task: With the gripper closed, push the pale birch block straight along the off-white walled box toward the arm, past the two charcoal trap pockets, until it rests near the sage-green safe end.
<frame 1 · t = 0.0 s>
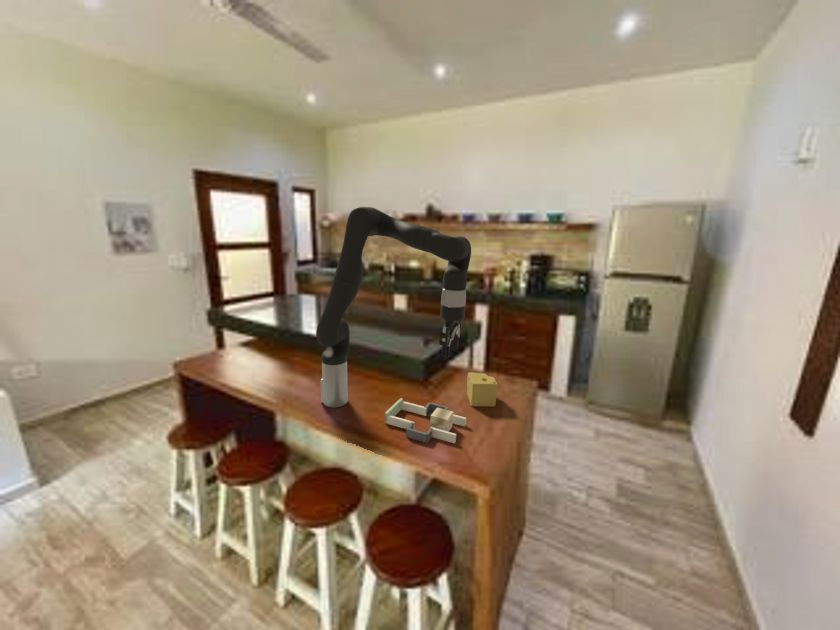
hand: (450, 352, 117), 29 cm above the worktop, tool pointing down, fingers open, 8 cm apart
trap box: (425, 424, 129), on the worktop
birch block: (441, 428, 127), resting in trap box
cheese: (480, 401, 147), on the worktop
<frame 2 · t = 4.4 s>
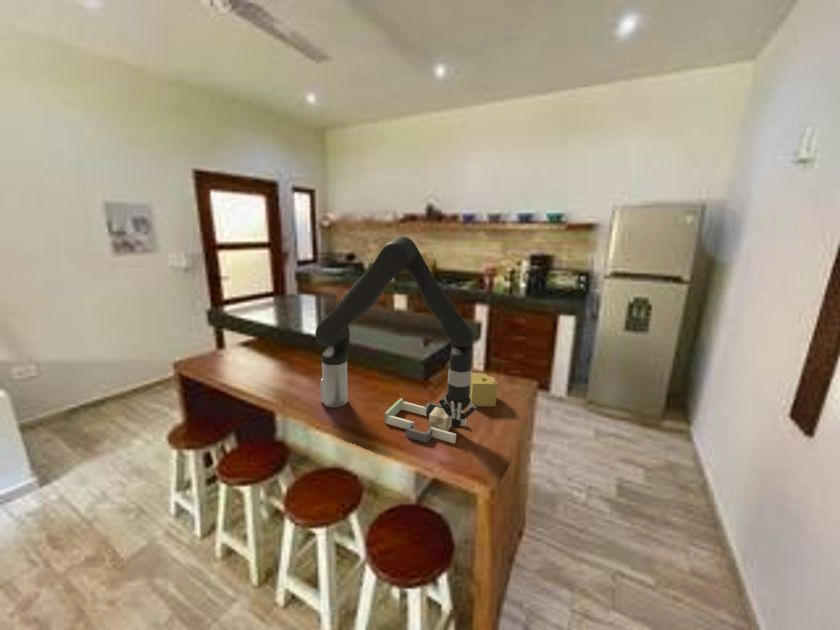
hand: (456, 427, 125), 2 cm above the worktop, tool pointing down, fingers closed
birch block: (439, 428, 127), resting in trap box, touching gripper
everything else where it was.
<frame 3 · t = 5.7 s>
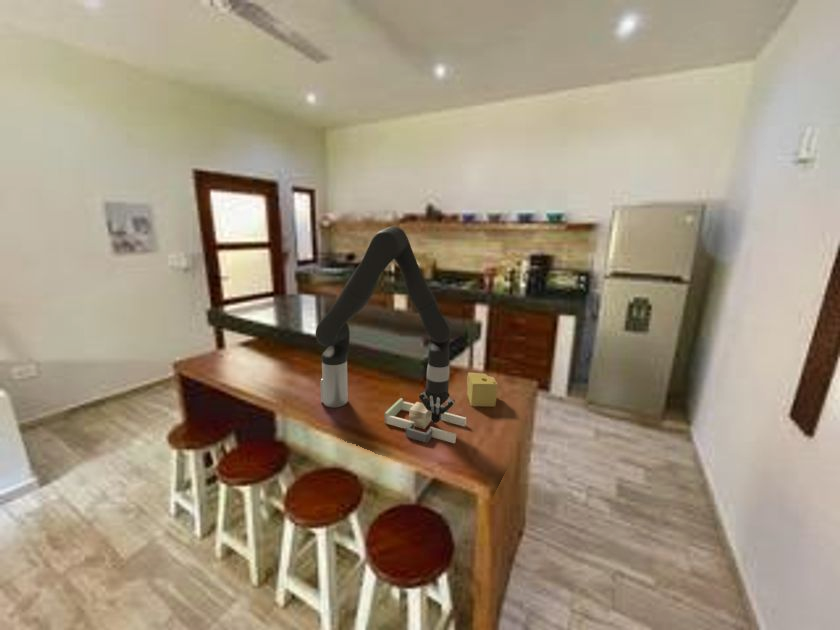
hand: (435, 421, 127), 2 cm above the worktop, tool pointing down, fingers closed
birch block: (420, 422, 130), resting in trap box, touching gripper
everything else where it was.
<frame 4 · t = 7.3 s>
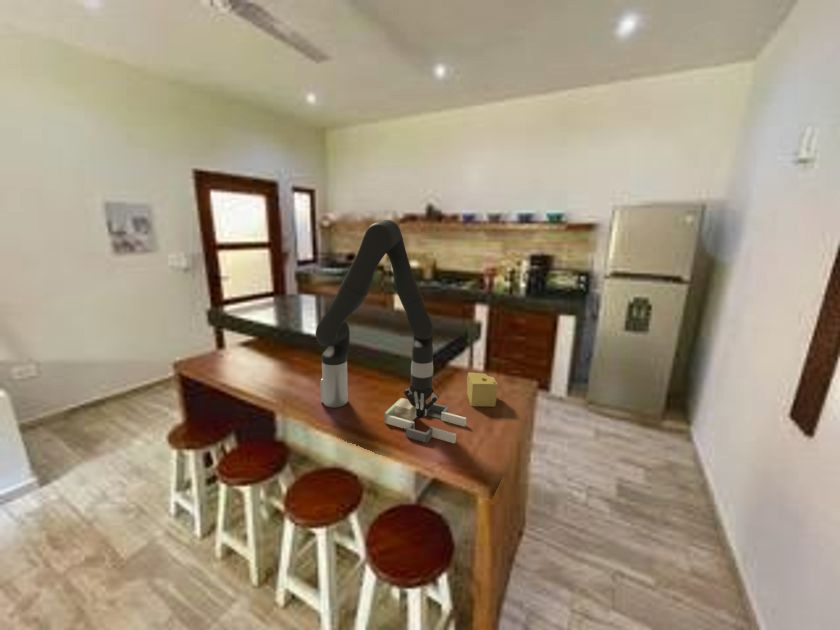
hand: (420, 417, 130), 2 cm above the worktop, tool pointing down, fingers closed
birch block: (405, 418, 132), resting in trap box, touching gripper
everything else where it was.
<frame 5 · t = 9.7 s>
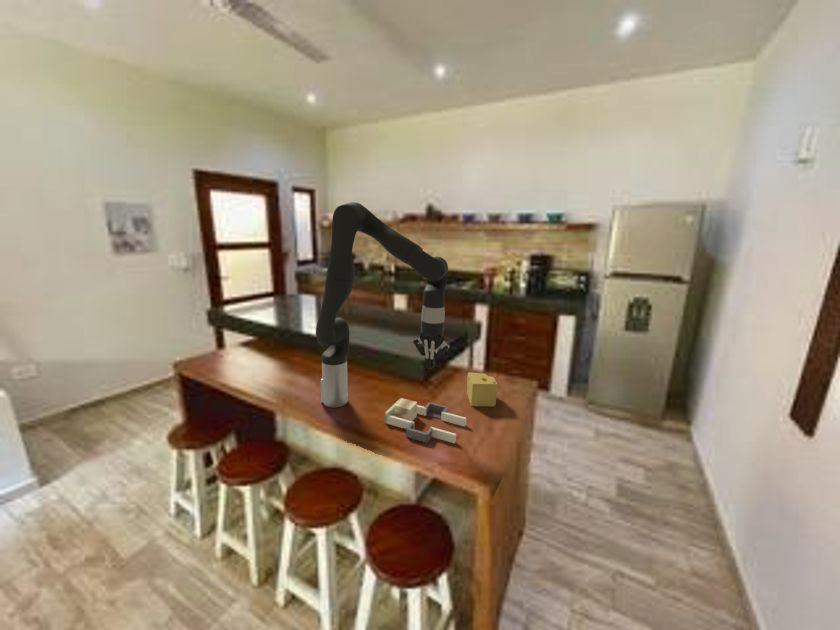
hand: (430, 368, 124), 21 cm above the worktop, tool pointing down, fingers closed
birch block: (405, 418, 132), resting in trap box
everything else where it was.
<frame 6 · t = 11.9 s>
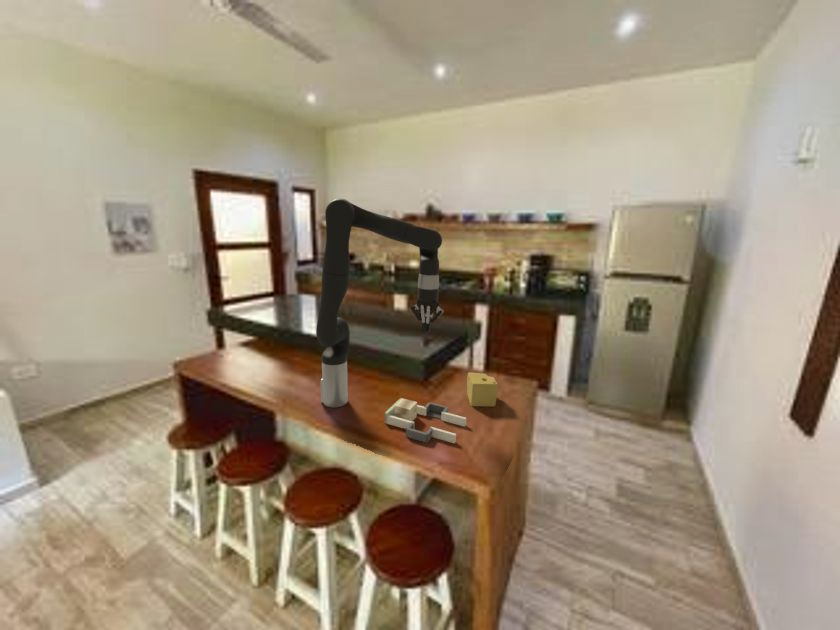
hand: (426, 332, 137), 29 cm above the worktop, tool pointing down, fingers closed
nothing on the worktop moved.
at the end: birch block inside the target area (1.1 cm from its centre), resting in trap box; birch block tilted 0°; cheese moved 0.3 cm from its start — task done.
